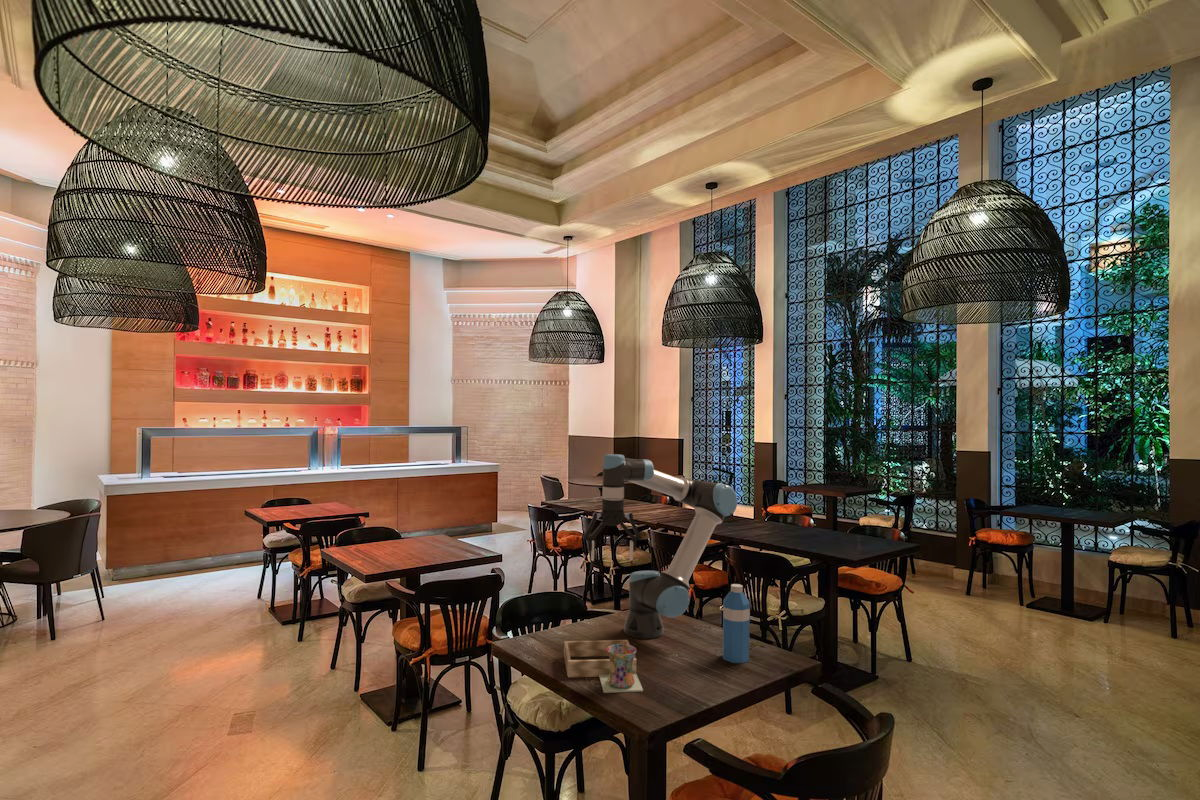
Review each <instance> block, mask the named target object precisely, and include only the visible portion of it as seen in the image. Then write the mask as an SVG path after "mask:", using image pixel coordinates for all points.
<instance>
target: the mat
mask: <svg viewBox="0 0 1200 800" xmlns="http://www.w3.org/2000/svg"><path fill="white" fill-rule="evenodd" d="M608 677H609V675H599V681H600V684H601V688H602V692H603V694H610V693H635V692H636V693H639V692H644V689H643V686H642V684H641V681H640V679H639V677H638V675H637V673H636V674H633V678H634V680H635V682H634V684H633V685H632V686H630V687H625V688H619V687H614V686H611V685H610V684H609V683H608V682H607V679H608Z"/></svg>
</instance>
